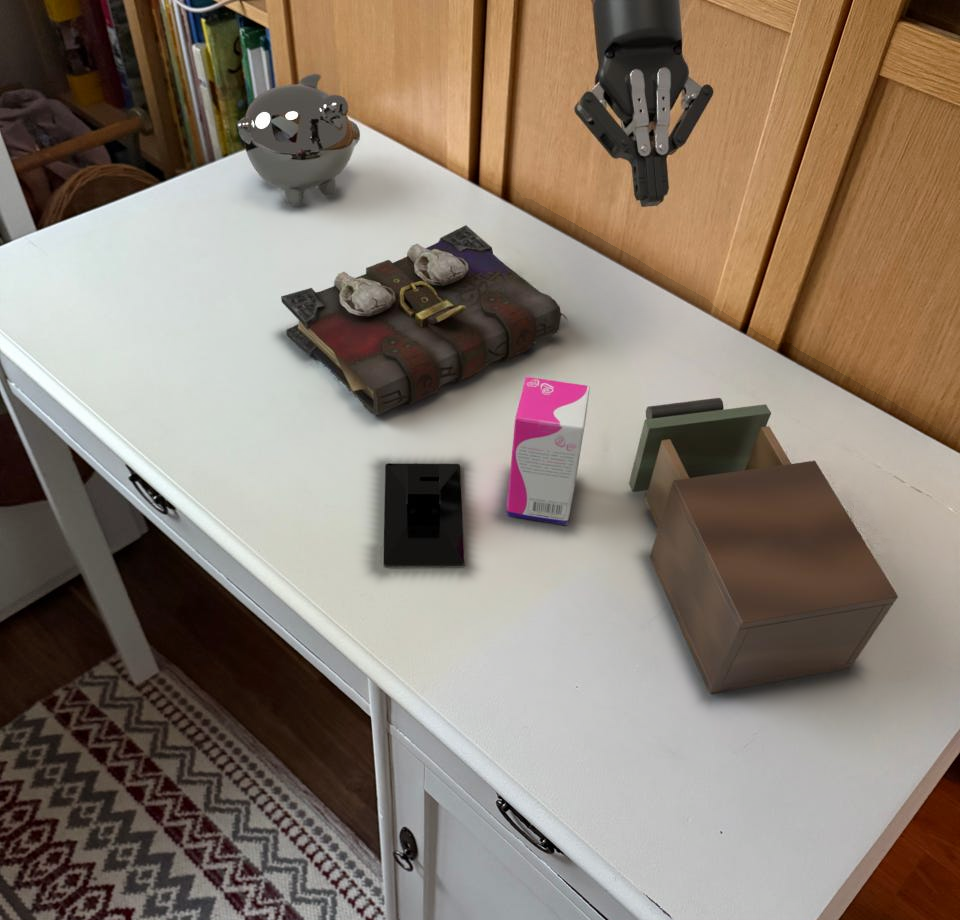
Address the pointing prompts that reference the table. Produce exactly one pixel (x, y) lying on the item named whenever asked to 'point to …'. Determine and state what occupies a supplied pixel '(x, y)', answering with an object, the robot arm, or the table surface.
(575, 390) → the supplement box
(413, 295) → the book
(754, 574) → the cabinet
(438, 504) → the black plastic holder
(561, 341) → the table surface
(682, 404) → the drawer
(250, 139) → the piggy bank
